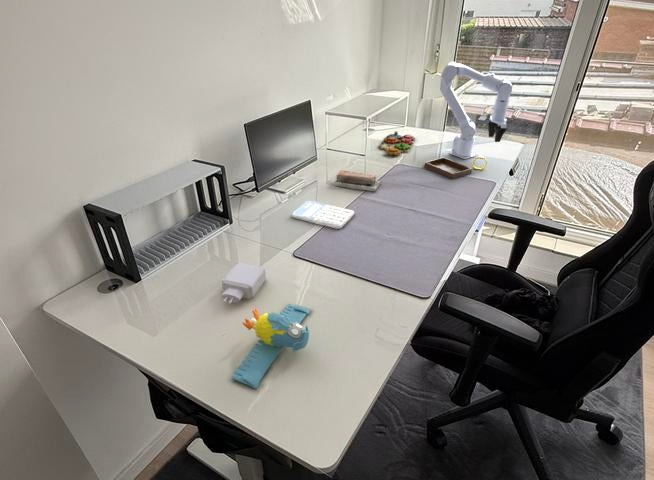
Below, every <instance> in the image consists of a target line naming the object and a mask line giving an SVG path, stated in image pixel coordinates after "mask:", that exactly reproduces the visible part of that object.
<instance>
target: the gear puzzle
mask: <svg viewBox="0 0 654 480" xmlns="http://www.w3.org/2000/svg"><path fill="white" fill-rule="evenodd" d="M415 141H416V137H415V136H413V135H412V134H404V135H401V134H399V132H398V131H397V130H395V131H394V132H393V133H389V134H387V135H386V136H385V137H384V139H383V140H382V141H381V144H379V145H378V148H380V150H384V153H385V154H386V155H390V156H397V155H399V156H400V155H401V154H402V153H409V151H410V149H411V148H412V146H413V144H414V142H415Z"/></svg>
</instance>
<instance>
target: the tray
mask: <svg viewBox="0 0 654 480" xmlns="http://www.w3.org/2000/svg"><path fill="white" fill-rule="evenodd" d="M424 168H426V169H428V170H431V171H433V172H435V173H437V174H440V175H442V176H444V177H446V178H450V179H451V180H454V179H457V178H460V177H463V176H468V175H471V174H472V170H473V168H472V167H469V166H467V165H464V164H462V163H460V162H458V161H454V160H452V159H449V158H447V157H445V156H444V157H443V156H442V157H438V158H436V159H431V160H428V161H425V162H424Z"/></svg>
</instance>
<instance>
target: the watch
mask: <svg viewBox="0 0 654 480" xmlns="http://www.w3.org/2000/svg"><path fill="white" fill-rule="evenodd" d="M477 160H484V161H485V163H484V165H483V166H482V167H478V166H477V167H476V166H475V162H476V161H477ZM487 161H488V160H487V159H486V157H485V156H484V155H478V156H477V157H475V158H474V159H473V160H472V167H473V168H474V170H480V171H481V170H484V169H485V168H486V167H487V166H488V165H487V164H488V162H487Z"/></svg>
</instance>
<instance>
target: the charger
mask: <svg viewBox="0 0 654 480" xmlns="http://www.w3.org/2000/svg"><path fill="white" fill-rule="evenodd" d="M266 274H267V273H266V269H265V268H264V267H262V266H257V265H253V264H252V265H251V264H247V263H242V262H238V263H236V264H235V265H234V266H233V267H232V268H231V270H230V271H229V272H228V273H227V274H226V275H225V277H223V279H222V280H221V286H222V290H223V292H222V294H221V295H220V297H221V298H222V299H223V300H222V303H225V302H226V301H228V304H231V303H232V302H233V303H236V302H240V301H241V299H252V298H254V297H255V296H256V294H257V292H258V291H259V289H260V288H261V287H262V285H263V284H264V283H265V281H266V280H267V275H266Z"/></svg>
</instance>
